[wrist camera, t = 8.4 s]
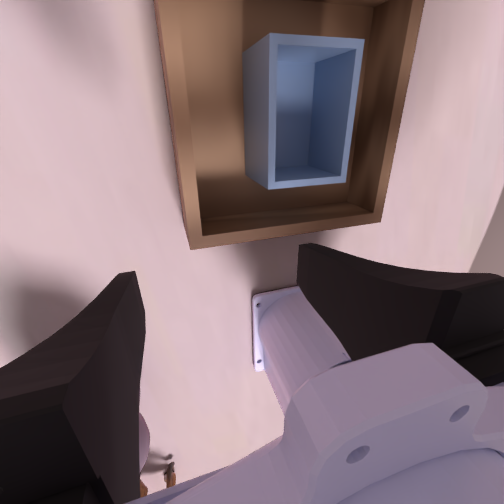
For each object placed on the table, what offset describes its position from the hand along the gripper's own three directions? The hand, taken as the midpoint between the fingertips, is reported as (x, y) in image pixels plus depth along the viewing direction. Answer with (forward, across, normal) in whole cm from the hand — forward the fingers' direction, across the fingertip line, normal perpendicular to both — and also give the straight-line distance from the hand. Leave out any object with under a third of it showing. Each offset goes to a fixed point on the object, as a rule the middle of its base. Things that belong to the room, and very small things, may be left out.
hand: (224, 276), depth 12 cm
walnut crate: (+9, -6, -6) cm, 13 cm away
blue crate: (+9, -6, -6) cm, 12 cm away
